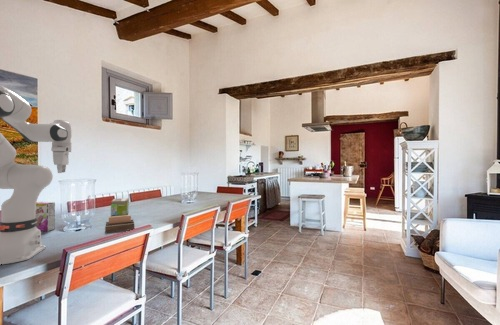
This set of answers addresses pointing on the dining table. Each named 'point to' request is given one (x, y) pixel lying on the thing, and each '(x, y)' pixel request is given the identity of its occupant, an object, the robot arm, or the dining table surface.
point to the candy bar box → (45, 216)
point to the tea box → (119, 207)
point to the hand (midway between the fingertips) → (61, 172)
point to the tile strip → (120, 219)
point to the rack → (119, 226)
